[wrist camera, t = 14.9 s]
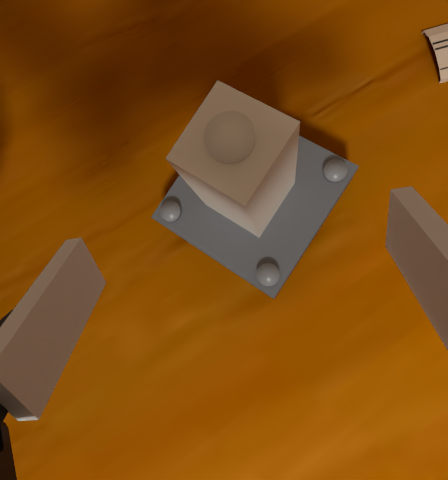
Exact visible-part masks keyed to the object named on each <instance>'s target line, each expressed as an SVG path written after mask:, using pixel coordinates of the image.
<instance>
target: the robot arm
mask: <svg viewBox="0 0 448 480" xmlns="http://www.w3.org/2000/svg"><path fill="white" fill-rule="evenodd" d="M386 248H387V249H388V251H389V253H390V254H391V256H392V258H393V259H394V261H395V263H396V264H397V266H398V268H399V270H400V271H401V273H402V275H403V276H404V278H405V280H406V281H407V283H408V285H409V286H410V288H411V290H412V291H413V293H414V295H415V296H416V298H417V300H418V301H419V303H420V305H421V306H422V308H423V310H424V311H425V313H426V315H427V316H428V318H429V320H430V321H431V323H432V325H433V326H434V328H435V330H436V332H437V333H438V335H439V337H440V338H441V340H442V342H443V343H444V345H445V347H446V348H447V350H448V225H447V223H446V222H445V221H444V220H443V219H442V218H441V217H440V216H439V215H438V214H437V213H436V212H435V211H434V210H433V209H432V207H431V206H430V205H429V204H428V203H427V202H426V201H425V200H424V199H423V198H422V197H421V196H420V195H419V194H418V193H417V192H416V190H415V189H414V188H413V187H412V186H411V187H405V188H398V189H392V190H391V191H390V202H389V213H388V225H387V236H386ZM105 284H106V281H105V280H104V278H103V276H102V274H101V272H100V270H99V269H98V267H97V265H96V263H95V261H94V260H93V258H92V256H91V254H90V252H89V250H88V249H87V247H86V245H85V243H84V241H83V240H82V238H76V239H69V240H66V241H65V242H64V243H63V245H62V246H61V247H60V249H59V250H58V251H57V253H56V254H55V255H54V257H53V258H52V259H51V261H50V262H49V263H48V265H47V266H46V267H45V268H44V270H43V271H42V272H41V274H40V275H39V276H38V278H37V279H36V280H35V282H34V283H33V284H32V286H31V287H30V288H29V290H28V291H27V292H26V294H25V295H24V296H23V298H22V299H21V300H20V302H19V303H18V304H17V306H16V307H15V308H14V310H12V311H10V312H9V313H8V314H7V315H6V316H5V317H3V318H2V319H1V320H0V480H17V478H16V472H15V466H14V460H13V454H12V448H11V442H10V436H9V430H8V427H7V425H6V423H4V422H3V420H4V418H5V416H6V415H7V413H8V412H9V413H10V414H11V415H12V416H13V417H15V418H16V419H17V420H18V421H26V420H39V418H40V416H41V414H42V412H43V410H44V408H45V406H46V404H47V402H48V400H49V398H50V396H51V394H52V392H53V390H54V388H55V386H56V384H57V382H58V380H59V378H60V376H61V374H62V372H63V369H64V367H65V365H66V363H67V361H68V359H69V357H70V355H71V353H72V351H73V349H74V347H75V345H76V343H77V341H78V339H79V337H80V335H81V333H82V331H83V329H84V327H85V325H86V323H87V321H88V319H89V317H90V315H91V313H92V310H93V308H94V306H95V304H96V302H97V300H98V298H99V296H100V294H101V292H102V290H103V288H104V286H105Z"/></svg>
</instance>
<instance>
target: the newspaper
mask: <svg viewBox="0 0 448 480" xmlns="http://www.w3.org/2000/svg"><path fill="white" fill-rule="evenodd" d="M424 33H425V36H428V37H429V39H430V42H431V44H432V46H433V49H434V51H435V54H436V58H437V62H438V66H439V71H440V79H441V80H440V82H439V83H442V82H446V81H448V24H445V25H441V26H438V27H434V28H431V29H427V30H424V31H423V32H422V34H424Z"/></svg>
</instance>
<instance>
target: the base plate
mask: <svg viewBox="0 0 448 480" xmlns="http://www.w3.org/2000/svg"><path fill="white" fill-rule="evenodd" d="M358 167H359V166H357V165H356V164H354V163H352V162H350V161H348V160H346V159H344V158H342V157H340V156H338V155H336V154H334V153H332V152H330V151H328V150H327V149H325V148H323V147H321V146H319V145H317V144H315V143H313V142H311V141H309V140H307V139H305V138H303V137H301V136H299V141H298V153H297V164H296V175H295V183H294V185H293V186H292V188H291V190H290V191H289V193H288V194H287V196H286V197H285V199H284V200H283V202H282V203H281V205H280V207H279V208H278V210H277V211H276V213H275V214H274V216H273V217H272V219H271V220H270V222H269V224H268V225H267V227H266V228H265V230H264V231H263V233H262V234H261V236H260V237H257V236H256V235H254V234H252V233H251V232H249V231H247V230H246V229H244V228H243V227H241V226H239V225H238V224H236V223H235V222H233V221H231V220H230V219H228V218H226V217H225V216H223V215H222V214H220V213H218V212H217V211H215V210H213V209H212V208H210V207H209V206H207V205H206V204H205V203H204V202H203V201H202V200H201V199H200V197H199V196H198V195H197V194H196V193H195V192H194V191H193V190H192V188H191V187H190V186H189V185H188V184H187V183H186V182H185V180H184V179H183V178H182V177H181V176H180V175H179V176H178V178H177V179H176V181H175V182H174V184H173V185H172V187H171V188H170V190H169V191H168V193H167V194H166V196H165V197H164V199H163V200H162V202H161V203H160V205H159V206H158V208H157V209H156V211H155V212H154V214H153V215H152V218H153V219H155V220H156V221H158V222H159V223H161V224H162V225H164V226H165V227H167V228H168V229H170V230H171V231H173V232H174V233H176V234H177V235H179V236H180V237H182V238H183V239H185V240H186V241H188V242H189V243H191V244H192V245H194V246H195V247H197V248H198V249H200V250H201V251H203V252H204V253H206V254H207V255H209V256H210V257H212V258H213V259H215V260H216V261H218V262H219V263H221V264H222V265H224V266H225V267H227V268H228V269H230V270H231V271H233V272H234V273H236V274H237V275H239V276H240V277H242V278H243V279H245V280H246V281H248V282H249V283H251V284H252V285H254V286H255V287H257V288H258V289H260V290H261V291H263V292H264V293H266V294H267V295H269V296H270V297H272V298H273V299H274V298H275V297H276V296H277V294H278V293H279V291H280V290H281V288H282V286H283V285H284V283H285V282H286V280H287V279H288V277H289V276H290V274H291V272H292V271H293V269H294V268H295V266H296V265H297V263H298V262H299V260H300V258H301V257H302V255H303V254H304V252H305V251H306V249H307V248H308V246H309V245H310V243H311V241H312V240H313V238H314V237H315V235H316V234H317V232H318V231H319V229H320V227H321V226H322V224H323V223H324V221H325V220H326V218H327V217H328V215H329V213H330V212H331V210H332V209H333V207H334V206H335V204H336V203H337V201H338V199H339V198H340V196H341V195H342V193H343V192H344V190H345V189H346V187H347V186H348V184H349V182H350V181H351V179H352V177H353V176H354V174H355V172H356V170H357V169H358Z"/></svg>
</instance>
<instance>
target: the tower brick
mask: <svg viewBox="0 0 448 480" xmlns="http://www.w3.org/2000/svg"><path fill="white" fill-rule="evenodd" d="M299 130H300V121H298V120H296V119H294V118H292V117H290V116H288V115H286V114H284V113H282V112H280V111H278V110H276V109H274V108H272V107H270V106H268V105H266V104H264V103H262V102H260V101H258V100H256V99H254V98H252V97H250V96H248V95H246V94H244V93H242V92H240V91H238V90H236V89H234V88H232V87H230V86H228V85H226V84H224V83H222V82H220V81H218V80H217V82H216V83H215V85H214V86H213V88H212V89H211V91H210V92H209V94H208V95H207V97H206V98H205V100H204V101H203V103H202V104H201V106H200V107H199V109H198V110H197V112H196V113H195V115H194V116H193V118H192V119H191V121H190V122H189V124H188V125H187V127H186V128H185V130H184V131H183V133H182V134H181V136H180V137H179V139H178V140H177V142H176V143H175V145H174V146H173V148H172V149H171V151H170V152H169V154H168V155H167V157H166V158H165V159H166V160H167V161H168V162H169V163H170V164H171V166H172V167H173V168H174V169H175V170H176V171H177V172H178V174H179V175H180V176H181V177H182V178H183V179H184V180H185V182H186V183H187V184H188V185H189V186H190V187H191V188H192V190H193V191H194V192H195V193H196V194H197V195H198V196H199V197H200V199H201V200H202V201H203V202H204V203H205V204H206V205H207V206H209V207H210V208H212V209H213V210H215V211H217V212H218V213H220V214H222V215H223V216H225V217H226V218H228V219H230V220H231V221H233V222H235V223H236V224H238V225H239V226H241V227H243V228H244V229H246V230H247V231H249V232H251V233H252V234H254V235H256V236H257V237H260V236H261V234H262V233H263V231H264V230H265V228H266V227H267V225H268V224H269V222H270V220H271V219H272V217H273V216H274V214H275V213H276V211H277V210H278V208H279V207H280V205H281V203H282V202H283V200H284V199H285V197H286V196H287V194H288V193H289V191H290V190H291V188H292V186H293V185H294V183H295V175H296V164H297V153H298V141H299Z"/></svg>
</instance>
